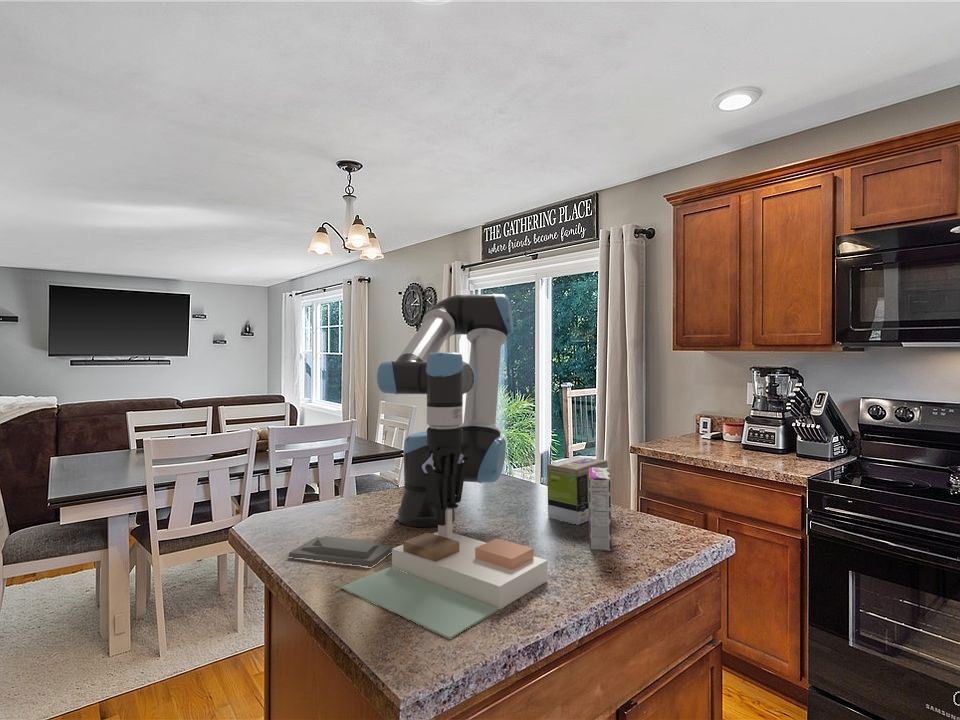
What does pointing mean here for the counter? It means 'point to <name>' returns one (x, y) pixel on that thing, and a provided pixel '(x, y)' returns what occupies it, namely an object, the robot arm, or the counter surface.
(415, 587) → the mat
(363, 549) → the soap mold
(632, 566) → the counter surface
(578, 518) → the tea box
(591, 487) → the candy bar box
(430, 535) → the walnut tile
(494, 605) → the white flat block
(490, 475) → the robot arm
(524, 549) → the terracotta tile
